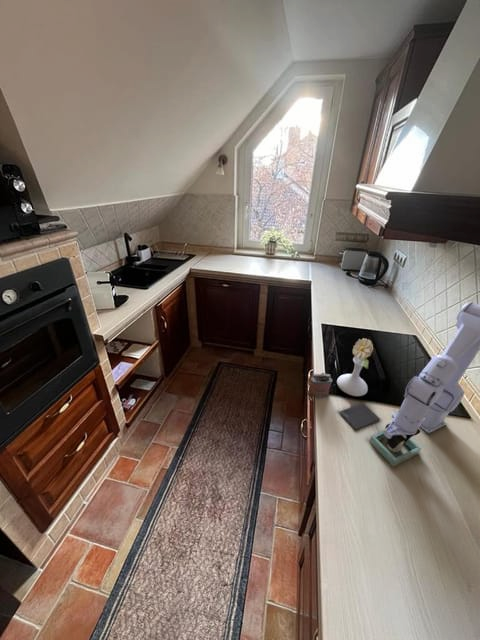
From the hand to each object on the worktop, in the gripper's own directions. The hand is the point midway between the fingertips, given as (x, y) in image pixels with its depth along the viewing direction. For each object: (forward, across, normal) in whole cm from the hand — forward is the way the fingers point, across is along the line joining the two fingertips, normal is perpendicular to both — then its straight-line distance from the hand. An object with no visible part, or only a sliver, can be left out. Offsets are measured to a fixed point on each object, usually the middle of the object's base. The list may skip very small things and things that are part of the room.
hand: (395, 443), depth 78 cm
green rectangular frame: (+2, 0, 0) cm, 2 cm away
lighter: (+2, +8, -27) cm, 28 cm away
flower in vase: (+2, -6, -24) cm, 25 cm away
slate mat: (+2, +1, -13) cm, 13 cm away
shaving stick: (+2, 0, 0) cm, 2 cm away
